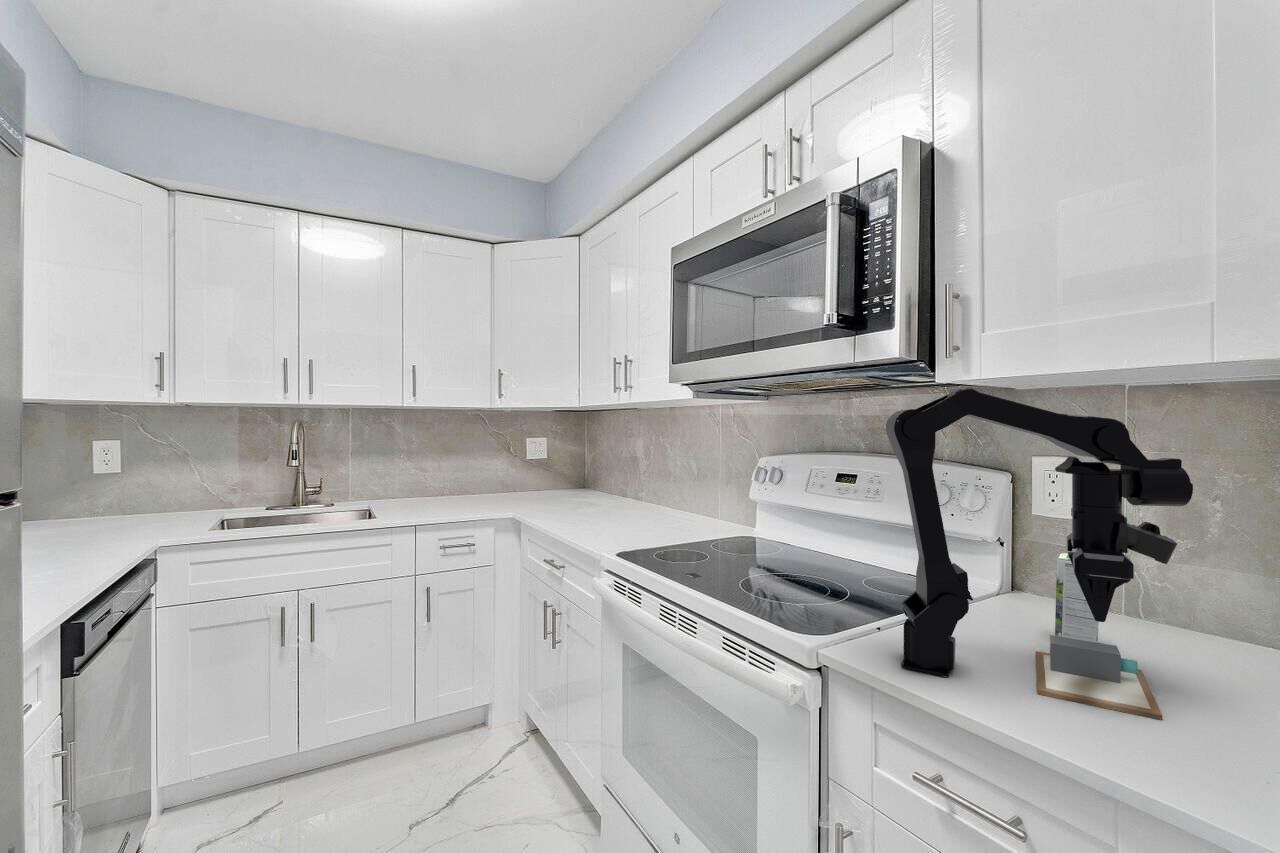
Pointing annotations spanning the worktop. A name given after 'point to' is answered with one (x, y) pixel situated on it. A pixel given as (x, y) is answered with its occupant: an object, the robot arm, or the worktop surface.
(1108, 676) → the gray block
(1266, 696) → the worktop surface
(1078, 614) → the syrup box
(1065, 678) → the clipboard
